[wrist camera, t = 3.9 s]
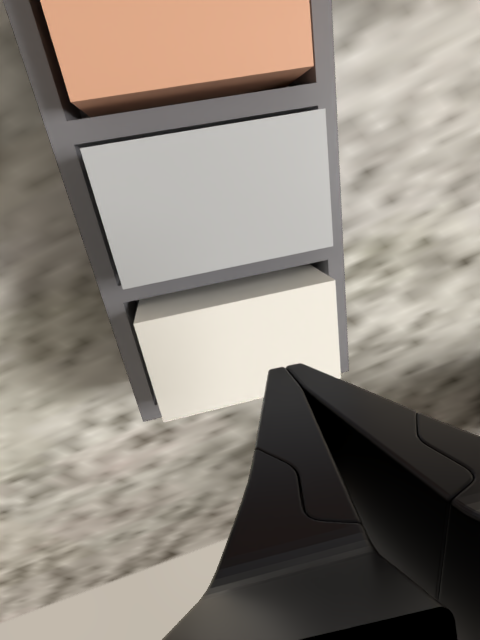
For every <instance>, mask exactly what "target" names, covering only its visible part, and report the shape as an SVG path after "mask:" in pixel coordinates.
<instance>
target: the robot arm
mask: <svg viewBox="0 0 480 640" xmlns="http://www.w3.org/2000/svg"><path fill="white" fill-rule="evenodd" d="M162 640H480V436H478V435H475V434H472V433H470V432H467V431H464V430H461V429H459V428H456V427H454V426H451V425H449V424H446V423H444V422H441V421H439V420H436V419H434V418H431V417H429V416H427V415H424V414H422V413H416V411H414V410H412V409H410V408H407V407H405V406H402V405H400V404H398V403H395V402H393V401H391V400H388V399H386V398H383V397H381V396H379V395H376V394H374V393H371V392H369V391H367V390H364V389H362V388H360V387H357V386H355V385H352V384H350V383H348V382H345V381H343V380H340V379H338V378H336V377H333V376H331V375H329V374H326V373H324V372H321V371H319V370H317V369H314V368H312V367H309V366H307V365H305V364H302V363H298V364H293V365H288V366H286V368H285V367H278V368H274V369H270V370H269V371H268V375H267V381H266V387H265V393H264V398H263V404H262V410H261V416H260V421H259V427H258V433H257V439H256V444H255V451H254V454H253V460H252V465H251V470H250V474H249V479H248V483H247V486H246V489H245V492H244V495H243V498H242V502H241V505H240V507H239V510H238V513H237V516H236V518H235V521H234V524H233V527H232V529H231V532H230V535H229V538H228V540H227V543H226V546H225V549H224V552H223V554H222V557H221V560H220V562H219V565H218V567H217V570H216V573H215V575H214V577H213V579H212V581H211V583H210V585H209V587H208V589H207V591H206V592H205V594H204V595H203V597H202V598H201V599H200V600H199V602H198V603H197V604H196V605H195V606H194V607H193V608H192V609H191V610H190V611H189V612H188V613H187V614H186V615H185V616H184V617H183V618H182V619H181V621H179V623H178V624H177V625H176V626H175V627H174V628H173V629H172V630H171V631H170V632H169V633H168V634H167V635H166V636H165V637H164V638H163V639H162Z"/></svg>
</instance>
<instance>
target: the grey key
mask: <svg viewBox="0 0 480 640" xmlns="http://www.w3.org/2000/svg"><path fill="white" fill-rule="evenodd" d="M80 151H81V154H82V157H83V160H84V164H85V167H86V170H87V173H88V177H89V180H90V183H91V187H92V190H93V193H94V196H95V200H96V203H97V206H98V209H99V213H100V216H101V219H102V223H103V226H104V229H105V232H106V236H107V239H108V242H109V245H110V249H111V252H112V255H113V259H114V262H115V265H116V268H117V272H118V275H119V278H120V281H121V285H122V288H123V289H128V288H133V287H138V286H143V285H148V284H152V283H157V282H162V281H167V280H172V279H177V278H181V277H186V276H191V275H196V274H201V273H206V272H210V271H215V270H220V269H225V268H230V267H235V266H239V265H244V264H249V263H254V262H259V261H264V260H269V259H273V258H278V257H283V256H288V255H293V254H298V253H302V252H307V251H312V250H317V249H322V248H327V247H331V246H333V231H332V214H331V197H330V179H329V162H328V145H327V128H326V110H325V108H324V109H318V110H312V111H306V112H300V113H293V114H287V115H281V116H275V117H269V118H263V119H257V120H251V121H244V122H238V123H232V124H226V125H220V126H214V127H208V128H201V129H195V130H189V131H183V132H177V133H171V134H165V135H159V136H152V137H146V138H140V139H134V140H128V141H122V142H116V143H109V144H103V145H97V146H91V147H85V148H80Z"/></svg>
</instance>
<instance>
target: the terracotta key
mask: <svg viewBox="0 0 480 640" xmlns="http://www.w3.org/2000/svg"><path fill="white" fill-rule="evenodd" d="M40 2H41V5H42V9H43V12H44V15H45V19H46V22H47V25H48V29H49V32H50V35H51V39H52V42H53V45H54V48H55V52H56V55H57V58H58V62H59V65H60V68H61V72H62V75H63V78H64V82H65V85H66V88H67V92H68V95H69V98H70V102H71V103H72V104H74V105H75V106H76V107H78V108H79V109H80V110H82V111H83V112H84V113H86V114H87V115H88V116H89V117H97V116H103V115H110V114H116V113H123V112H129V111H135V110H142V109H148V108H155V107H161V106H168V105H174V104H181V103H187V102H194V101H200V100H207V99H213V98H220V97H226V96H233V95H239V94H246V93H252V92H258V91H265V90H271V89H278V88H284V87H287V86H288V85H289V84H291V83H292V82H293V81H295V80H296V79H297V78H299V77H300V76H301V75H302V74H304V73H305V72H306V71H308V70H309V69H310V68H312V67H313V66H314V63H313V48H312V33H311V18H310V3H309V0H40Z"/></svg>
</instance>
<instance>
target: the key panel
mask: <svg viewBox="0 0 480 640" xmlns="http://www.w3.org/2000/svg"><path fill="white" fill-rule="evenodd" d="M3 2H4V5H5V8H6V11H7V14H8V17H9V20H10V23H11V26H12V29H13V32H14V35H15V38H16V41H17V44H18V47H19V50H20V53H21V56H22V59H23V62H24V65H25V68H26V71H27V74H28V77H29V80H30V83H31V86H32V89H33V92H34V95H35V98H36V101H37V104H38V107H39V110H40V113H41V116H42V119H43V122H44V125H45V128H46V131H47V134H48V137H49V140H50V143H51V146H52V149H53V152H54V155H55V158H56V161H57V164H58V167H59V170H60V173H61V176H62V179H63V182H64V185H65V188H66V191H67V194H68V197H69V200H70V203H71V206H72V209H73V212H74V215H75V218H76V221H77V224H78V227H79V230H80V233H81V236H82V239H83V242H84V245H85V248H86V251H87V254H88V257H89V260H90V263H91V266H92V269H93V272H94V275H95V278H96V281H97V284H98V287H99V290H100V293H101V296H102V299H103V302H104V305H105V308H106V311H107V314H108V317H109V320H110V323H111V326H112V329H113V332H114V335H115V338H116V341H117V344H118V347H119V350H120V353H121V356H122V359H123V362H124V365H125V368H126V371H127V374H128V377H129V380H130V383H131V386H132V389H133V392H134V395H135V398H136V401H137V404H138V407H139V410H140V413H141V416H142V419H143V422H144V421H148V420H152V419H156V418H160V417H162V416H161V412H160V409H159V406H158V403H157V399H156V396H155V393H154V389H153V386H152V383H151V380H150V376H149V373H148V370H147V367H146V363H145V360H144V357H143V353H142V350H141V347H140V344H139V340H138V337H137V334H136V331H135V327H134V320H135V316H136V311H137V307H138V303H139V299H144V298H148V297H153V296H158V295H163V294H167V293H172V292H177V291H182V290H186V289H191V288H196V287H201V286H205V285H210V284H215V283H220V282H224V281H229V280H234V279H239V278H243V277H248V276H253V275H258V274H262V273H267V272H272V271H277V270H281V269H286V268H291V267H296V266H300V265H305V264H310V265H312V266H313V267H315V268H317V269H318V270H320V271H321V272H323V273H325V274H326V275H328V276H330V277H331V278H333V279H334V280H335V283H336V300H337V317H338V334H339V351H340V369H341V373H343V372H347V371H349V359H348V338H347V316H346V295H345V274H344V253H343V232H342V211H341V189H340V168H339V147H338V126H337V105H336V84H335V62H334V41H333V20H332V0H309V3H310V18H311V33H312V48H313V63H314V66H313V67H312V68H310V69H309V70H308V71H306V72H305V73H304V74H302V75H301V76H300V77H299V78H297V79H296V80H295V81H293V82H292V83H291V84H289V85H288V86H287V87H284V88H278V89H271V90H265V91H258V92H252V93H246V94H239V95H233V96H226V97H220V98H213V99H207V100H200V101H194V102H187V103H181V104H174V105H168V106H161V107H155V108H148V109H142V110H135V111H129V112H123V113H116V114H110V115H103V116H97V117H89V116H88V115H87V114H86V113H84V112H83V111H82V110H80V109H79V108H78V107H76V106H75V105H74V104H72V103H71V102H70V98H69V95H68V92H67V88H66V85H65V82H64V78H63V75H62V72H61V68H60V65H59V62H58V58H57V55H56V52H55V48H54V45H53V42H52V39H51V35H50V32H49V29H48V25H47V22H46V19H45V15H44V12H43V9H42V5H41V2H40V0H3ZM324 108H325V110H326V128H327V145H328V162H329V179H330V197H331V214H332V231H333V246H331V247H327V248H322V249H317V250H312V251H307V252H302V253H298V254H293V255H288V256H283V257H278V258H273V259H269V260H264V261H259V262H254V263H249V264H244V265H239V266H235V267H230V268H225V269H220V270H215V271H210V272H206V273H201V274H196V275H191V276H186V277H181V278H177V279H172V280H167V281H162V282H157V283H152V284H148V285H143V286H138V287H133V288H128V289H123V288H122V285H121V281H120V278H119V275H118V272H117V268H116V265H115V262H114V259H113V255H112V252H111V249H110V245H109V242H108V239H107V236H106V232H105V229H104V226H103V223H102V219H101V216H100V213H99V209H98V206H97V203H96V200H95V196H94V193H93V190H92V187H91V183H90V180H89V177H88V173H87V170H86V167H85V164H84V160H83V157H82V154H81V151H80V148H85V147H91V146H97V145H103V144H109V143H116V142H122V141H128V140H134V139H140V138H146V137H152V136H159V135H165V134H171V133H177V132H183V131H189V130H195V129H201V128H208V127H214V126H220V125H226V124H232V123H238V122H244V121H251V120H257V119H263V118H269V117H275V116H281V115H287V114H293V113H300V112H306V111H312V110H318V109H324Z"/></svg>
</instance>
